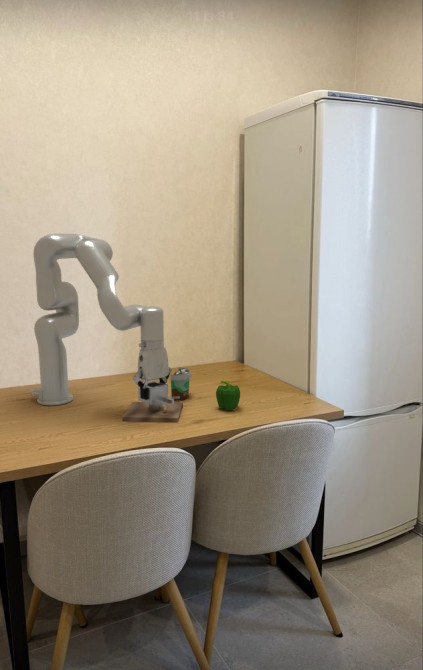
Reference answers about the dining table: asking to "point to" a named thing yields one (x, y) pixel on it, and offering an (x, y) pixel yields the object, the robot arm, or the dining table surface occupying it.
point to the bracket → (156, 394)
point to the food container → (180, 384)
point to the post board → (152, 412)
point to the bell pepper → (228, 396)
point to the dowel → (165, 409)
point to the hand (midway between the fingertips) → (153, 396)
